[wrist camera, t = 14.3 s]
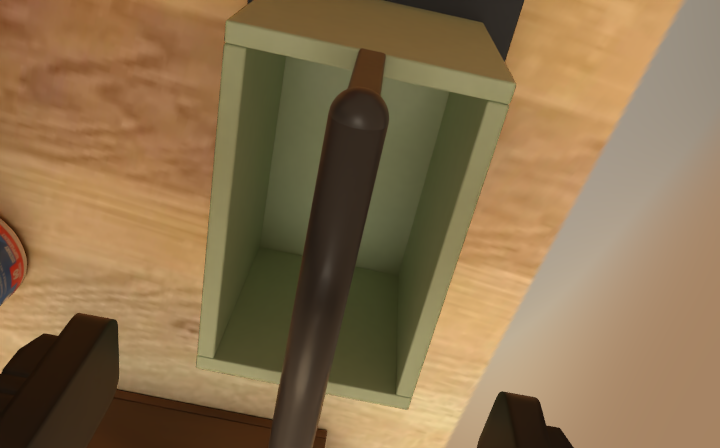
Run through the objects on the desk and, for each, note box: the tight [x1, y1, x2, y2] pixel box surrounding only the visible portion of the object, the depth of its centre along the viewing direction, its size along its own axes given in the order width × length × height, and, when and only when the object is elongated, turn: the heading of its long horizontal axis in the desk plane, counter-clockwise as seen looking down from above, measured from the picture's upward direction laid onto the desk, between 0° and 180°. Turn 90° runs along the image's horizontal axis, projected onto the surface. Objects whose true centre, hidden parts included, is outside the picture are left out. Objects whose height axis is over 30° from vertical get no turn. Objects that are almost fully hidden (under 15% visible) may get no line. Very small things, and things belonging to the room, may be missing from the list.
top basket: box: [196, 0, 516, 448], centre depth 20 cm, size 13×8×13 cm, turn 169°
